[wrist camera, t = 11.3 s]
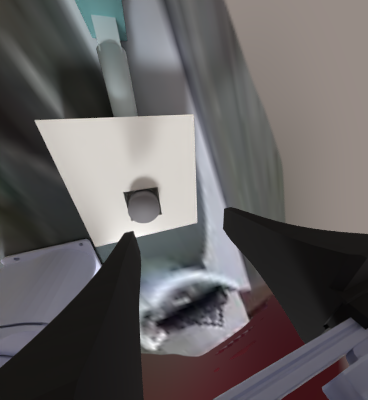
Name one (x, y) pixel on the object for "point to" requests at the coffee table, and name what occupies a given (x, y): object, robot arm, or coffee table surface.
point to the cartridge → (111, 51)
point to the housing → (125, 170)
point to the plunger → (143, 206)
